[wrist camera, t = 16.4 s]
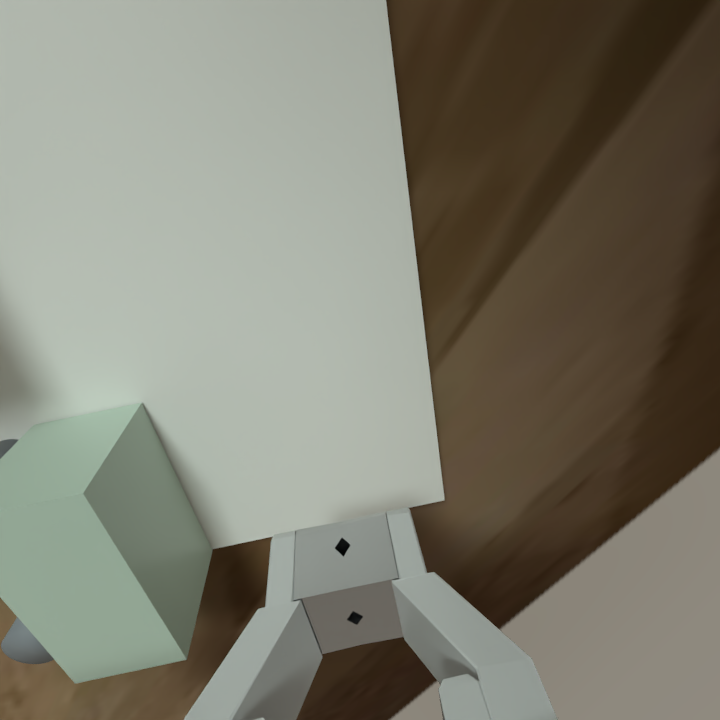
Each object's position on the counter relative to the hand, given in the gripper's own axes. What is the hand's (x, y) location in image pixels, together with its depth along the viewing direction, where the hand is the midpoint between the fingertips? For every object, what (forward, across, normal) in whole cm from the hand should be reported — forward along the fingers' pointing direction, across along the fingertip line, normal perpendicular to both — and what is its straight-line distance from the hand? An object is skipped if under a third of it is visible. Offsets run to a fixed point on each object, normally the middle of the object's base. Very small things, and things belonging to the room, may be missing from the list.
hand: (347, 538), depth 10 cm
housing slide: (+4, +6, +1) cm, 8 cm away
